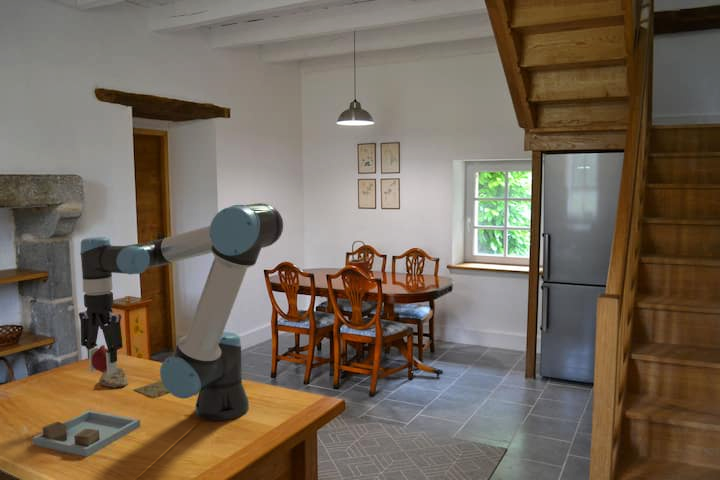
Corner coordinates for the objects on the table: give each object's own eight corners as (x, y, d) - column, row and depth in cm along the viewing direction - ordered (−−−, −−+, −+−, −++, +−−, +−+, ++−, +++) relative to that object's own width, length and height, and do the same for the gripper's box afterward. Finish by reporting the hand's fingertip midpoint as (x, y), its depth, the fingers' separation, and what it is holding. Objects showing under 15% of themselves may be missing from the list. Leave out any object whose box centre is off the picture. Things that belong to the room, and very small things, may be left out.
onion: (105, 376, 160) (103, 349, 159) (87, 375, 161) (86, 347, 160) (118, 369, 166) (117, 343, 165) (101, 368, 167) (99, 341, 166)
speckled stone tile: (165, 380, 193) (165, 377, 193) (186, 388, 186) (186, 385, 185) (132, 391, 184) (132, 388, 184) (153, 400, 176) (153, 397, 176)
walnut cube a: (100, 445, 145) (99, 429, 144) (89, 452, 141) (88, 437, 140) (85, 443, 146) (85, 428, 145) (75, 451, 142) (74, 435, 141)
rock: (96, 383, 191) (99, 387, 182) (100, 365, 192) (103, 368, 183) (124, 385, 195) (128, 388, 186) (127, 367, 196) (131, 370, 187)
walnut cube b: (67, 440, 148) (66, 425, 147) (51, 446, 144) (50, 430, 144) (59, 435, 150) (58, 421, 150) (43, 441, 147) (42, 426, 146)
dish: (140, 428, 155) (139, 419, 155) (87, 459, 139) (86, 449, 139) (90, 418, 162) (89, 410, 162) (33, 446, 145) (32, 437, 145)
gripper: (134, 292, 161) (138, 371, 163) (84, 287, 168) (89, 363, 171) (113, 297, 154) (118, 380, 157) (62, 292, 161) (68, 372, 164)
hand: (103, 371), depth 164 cm, fingers closed on onion, 6 cm apart
